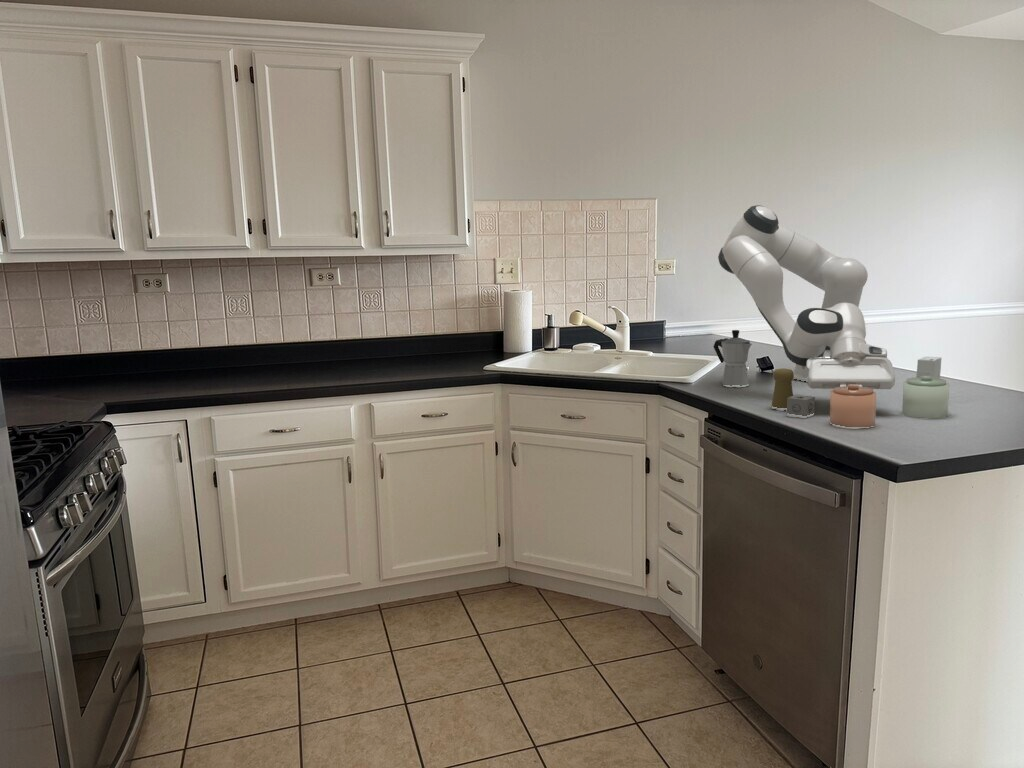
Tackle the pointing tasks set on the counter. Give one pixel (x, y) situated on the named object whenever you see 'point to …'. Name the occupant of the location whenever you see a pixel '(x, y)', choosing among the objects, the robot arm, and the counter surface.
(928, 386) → the sage canister
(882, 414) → the counter surface
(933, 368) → the skincare box
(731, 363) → the coffee maker
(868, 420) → the terracotta canister
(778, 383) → the cork
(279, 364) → the counter surface
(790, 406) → the dice cube
